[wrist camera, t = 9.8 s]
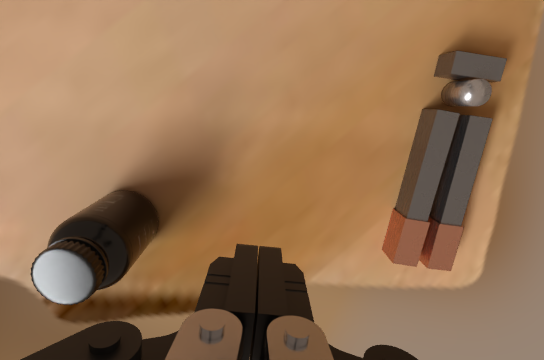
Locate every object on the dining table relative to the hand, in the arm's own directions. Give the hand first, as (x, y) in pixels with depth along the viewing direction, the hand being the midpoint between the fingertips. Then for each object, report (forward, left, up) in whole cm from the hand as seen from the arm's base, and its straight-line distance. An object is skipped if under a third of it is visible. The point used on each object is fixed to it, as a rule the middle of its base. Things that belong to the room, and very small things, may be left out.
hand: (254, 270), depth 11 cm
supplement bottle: (+9, -13, -24) cm, 29 cm away
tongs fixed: (-2, +19, -24) cm, 30 cm away
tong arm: (+1, +17, -24) cm, 29 cm away
